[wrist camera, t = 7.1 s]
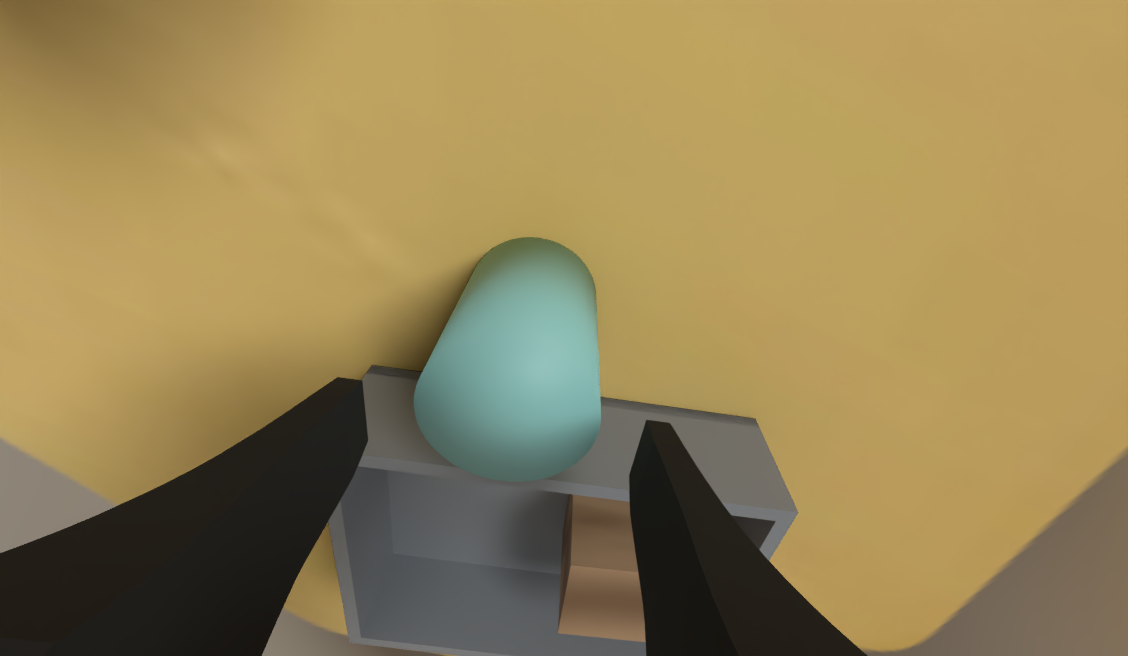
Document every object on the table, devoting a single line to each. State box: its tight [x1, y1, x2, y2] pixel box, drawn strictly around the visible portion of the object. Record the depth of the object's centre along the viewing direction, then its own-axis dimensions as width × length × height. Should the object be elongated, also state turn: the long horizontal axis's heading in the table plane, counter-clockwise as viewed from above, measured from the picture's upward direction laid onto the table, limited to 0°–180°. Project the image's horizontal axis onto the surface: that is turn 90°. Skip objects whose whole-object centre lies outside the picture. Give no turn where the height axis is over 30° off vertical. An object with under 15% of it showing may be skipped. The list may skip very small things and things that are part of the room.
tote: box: [328, 365, 798, 656], centre depth 22 cm, size 13×17×5 cm
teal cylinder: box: [414, 237, 601, 482], centre depth 16 cm, size 5×5×7 cm
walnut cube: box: [558, 494, 646, 642], centre depth 21 cm, size 5×5×5 cm
